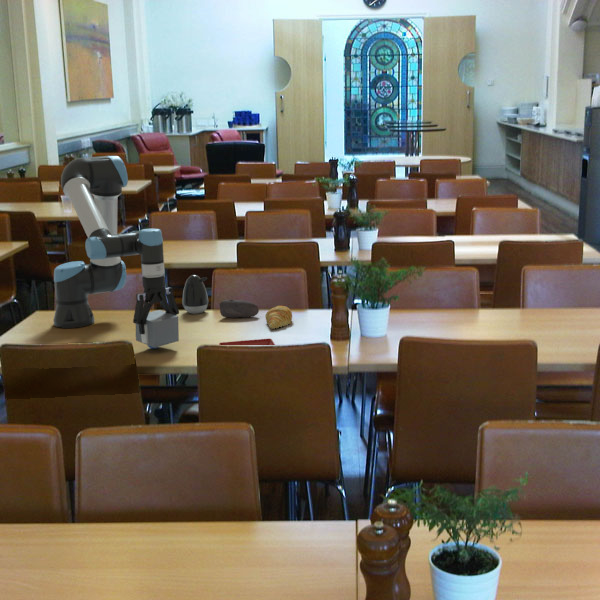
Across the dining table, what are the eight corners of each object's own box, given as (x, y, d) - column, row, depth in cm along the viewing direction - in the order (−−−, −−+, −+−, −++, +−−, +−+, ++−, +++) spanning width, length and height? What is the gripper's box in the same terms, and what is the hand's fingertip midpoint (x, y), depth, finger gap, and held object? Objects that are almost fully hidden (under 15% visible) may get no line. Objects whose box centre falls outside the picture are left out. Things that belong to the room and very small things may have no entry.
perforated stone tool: (260, 315, 338) (259, 298, 336) (257, 319, 333) (257, 301, 331) (222, 315, 340) (221, 298, 338) (219, 319, 335) (218, 301, 333)
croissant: (280, 340, 316) (289, 322, 313) (256, 327, 317) (265, 308, 314) (292, 324, 336) (301, 306, 333) (269, 311, 337) (278, 294, 334)
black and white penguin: (204, 315, 340) (202, 277, 337) (179, 315, 342) (177, 277, 339) (212, 309, 350) (210, 272, 346) (188, 308, 352) (185, 272, 348)
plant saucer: (281, 362, 279) (281, 352, 279) (225, 367, 276) (225, 357, 275) (271, 347, 297) (271, 338, 296) (218, 352, 293) (218, 342, 292)
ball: (153, 341, 293) (150, 353, 296) (165, 338, 297) (161, 349, 299) (145, 332, 296) (141, 344, 298) (157, 329, 299) (153, 340, 302)
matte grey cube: (136, 340, 296) (135, 315, 293) (159, 334, 303) (159, 309, 300) (154, 347, 289) (154, 322, 286) (178, 341, 296) (178, 316, 294)
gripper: (132, 282, 280) (137, 348, 285) (187, 270, 296) (191, 333, 301) (118, 279, 285) (123, 345, 290) (173, 268, 301) (177, 330, 306)
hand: (158, 339), depth 295 cm, fingers closed on matte grey cube, 10 cm apart
